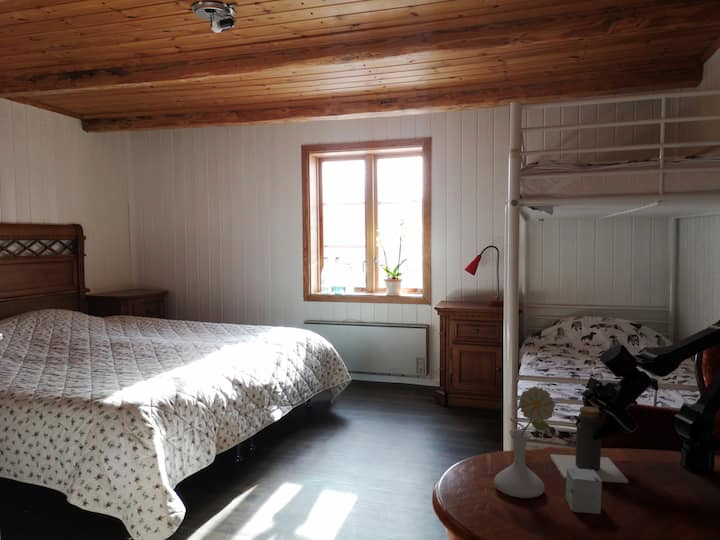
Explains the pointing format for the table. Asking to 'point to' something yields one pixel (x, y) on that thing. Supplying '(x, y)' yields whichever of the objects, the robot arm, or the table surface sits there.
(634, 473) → the table surface
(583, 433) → the bottle
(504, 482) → the flower in vase
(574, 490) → the skincare box
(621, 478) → the letter card
